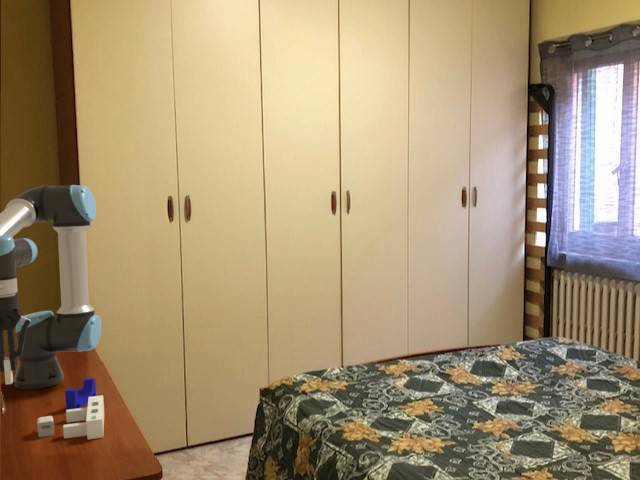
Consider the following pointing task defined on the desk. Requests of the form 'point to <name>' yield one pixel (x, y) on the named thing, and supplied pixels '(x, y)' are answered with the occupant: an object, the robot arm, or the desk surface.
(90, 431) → the dock
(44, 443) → the desk surface
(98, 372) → the desk surface
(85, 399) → the cable clip
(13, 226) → the robot arm
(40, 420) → the usb wall charger
